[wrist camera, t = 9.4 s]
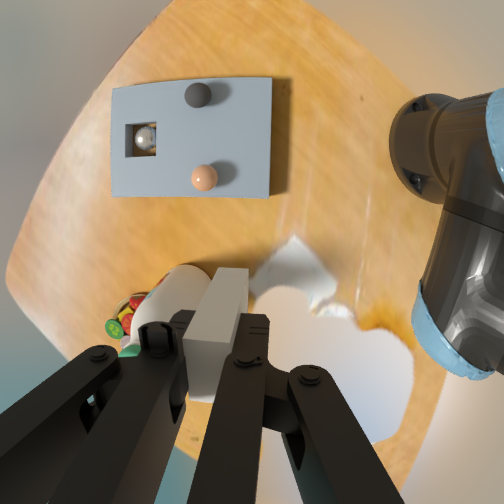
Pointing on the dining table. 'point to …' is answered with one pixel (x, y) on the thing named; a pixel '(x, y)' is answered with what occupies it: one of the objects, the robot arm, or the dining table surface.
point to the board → (194, 138)
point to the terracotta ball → (204, 177)
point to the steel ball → (146, 138)
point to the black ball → (197, 95)
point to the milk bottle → (168, 301)
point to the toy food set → (123, 319)
